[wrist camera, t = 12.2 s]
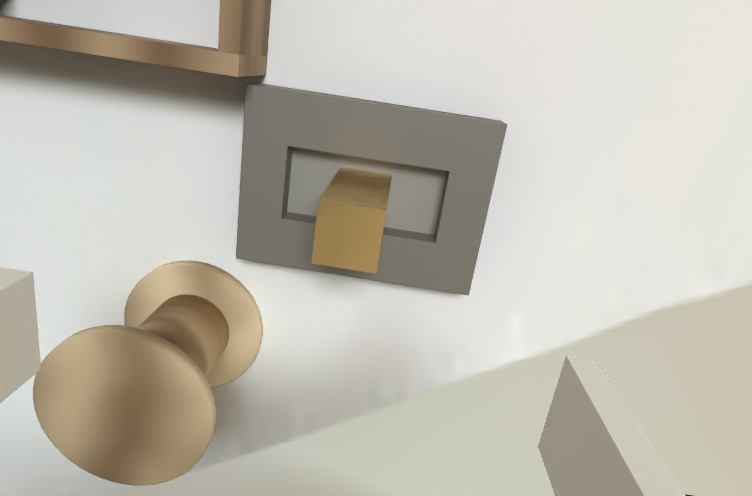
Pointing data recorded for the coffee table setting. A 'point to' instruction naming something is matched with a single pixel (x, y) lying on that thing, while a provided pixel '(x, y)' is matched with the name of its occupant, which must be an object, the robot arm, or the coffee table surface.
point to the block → (352, 220)
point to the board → (371, 153)
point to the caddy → (163, 41)
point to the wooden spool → (149, 375)
